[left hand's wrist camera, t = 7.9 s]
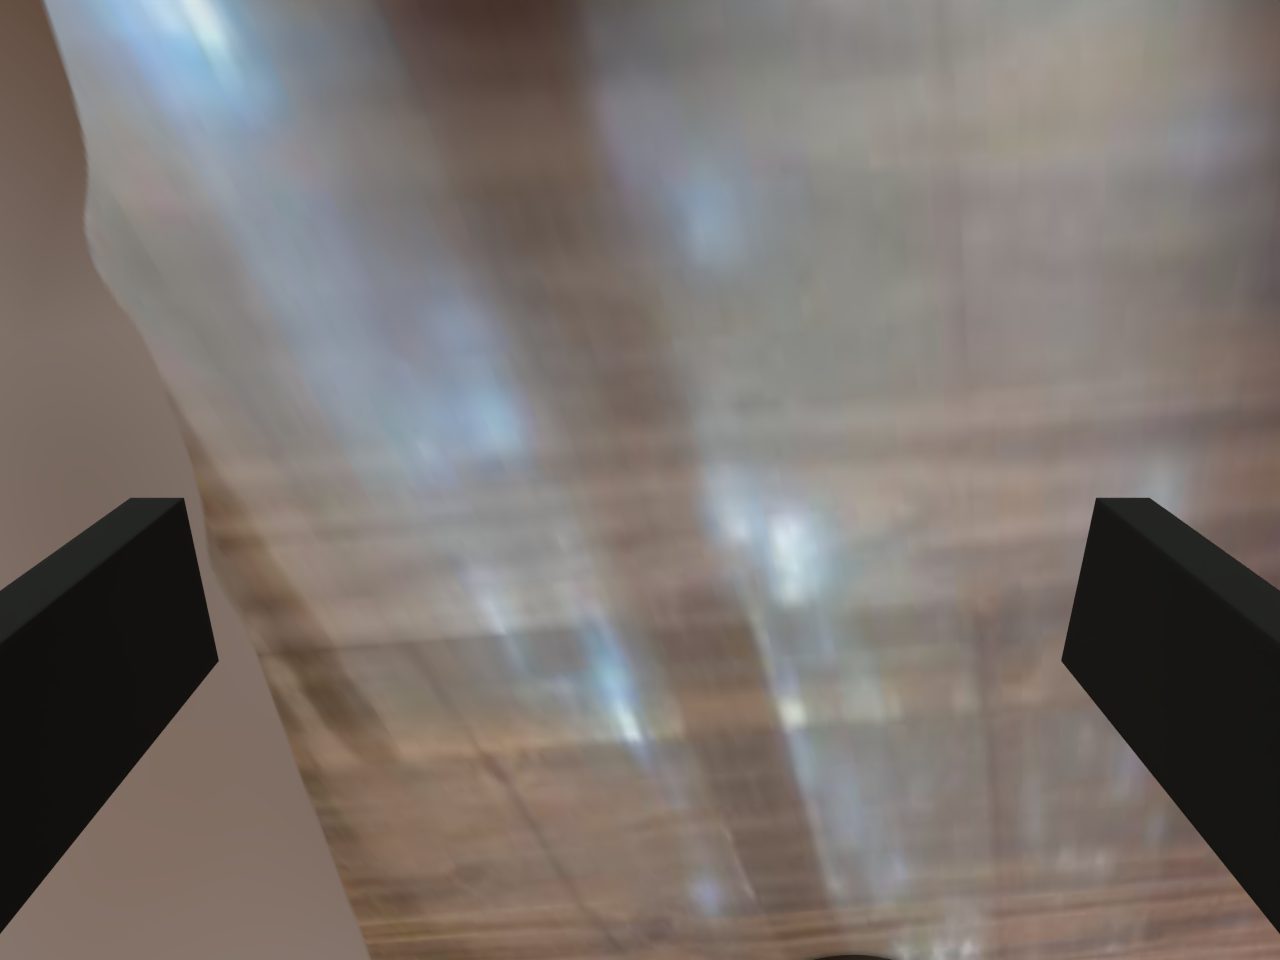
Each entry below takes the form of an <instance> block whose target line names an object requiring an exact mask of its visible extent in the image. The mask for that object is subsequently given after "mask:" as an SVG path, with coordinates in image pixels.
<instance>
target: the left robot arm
mask: <svg viewBox="0 0 1280 960" xmlns="http://www.w3.org/2000/svg"><path fill="white" fill-rule="evenodd" d="M218 661H219V660H218V655H217V651H216V646H215V641H214V636H213V632H212V627H211V622H210V618H209V613H208V609H207V604H206V599H205V594H204V590H203V585H202V580H201V576H200V571H199V566H198V562H197V557H196V553H195V548H194V543H193V538H192V534H191V529H190V524H189V520H188V515H187V511H186V506H185V501H184V498H130V499H128V500H127V501H126V502H124V503H123V504H121V505H120V506H119V507H117V508H116V509H114V510H113V511H112V512H110V513H109V514H107V515H106V516H105V517H103V518H102V519H100V520H99V521H98V522H96V523H95V524H93V525H92V526H90V527H89V528H88V529H86V530H85V531H83V532H82V533H81V534H79V535H78V536H77V537H75V538H74V539H72V540H71V541H70V542H68V543H67V544H65V545H64V546H62V547H61V548H60V549H58V550H57V551H55V552H54V553H53V554H51V555H50V556H48V557H47V558H46V559H44V560H43V561H41V562H40V563H39V564H37V565H36V566H34V567H33V568H32V569H30V570H29V571H27V572H26V573H25V574H23V575H22V576H20V577H19V578H18V579H16V580H15V581H13V582H12V583H11V584H9V585H8V586H6V587H5V588H4V589H2V590H1V591H0V933H1V932H2V931H3V930H4V928H5V927H6V926H7V925H8V923H9V922H10V921H11V920H12V918H13V917H14V916H15V915H16V913H17V912H18V911H19V910H20V908H21V907H22V906H23V905H24V903H25V902H26V901H27V900H28V898H29V897H30V896H31V895H32V893H33V892H34V891H35V890H36V888H37V887H38V886H39V885H40V883H41V882H42V881H43V880H44V878H45V877H46V876H47V875H48V873H49V872H50V871H51V870H52V868H53V867H54V866H55V865H56V863H57V862H58V861H59V860H60V858H61V857H62V856H63V855H64V853H65V852H66V851H67V850H68V848H69V847H70V846H71V845H72V843H73V842H74V841H75V840H76V838H77V837H78V836H79V835H80V833H81V832H82V831H83V830H84V828H85V827H86V826H87V825H88V823H89V822H90V821H91V820H92V818H93V817H94V816H95V815H96V813H97V812H98V811H99V810H100V808H101V807H102V806H103V805H104V803H105V802H106V801H107V800H108V798H109V797H110V796H111V795H112V793H113V792H114V791H115V790H116V788H117V787H118V786H119V785H120V783H121V782H122V781H123V780H124V778H125V777H126V776H127V775H128V773H129V772H130V771H131V770H132V768H133V767H134V766H135V765H136V763H137V762H138V761H139V760H140V758H141V757H142V756H143V755H144V753H145V752H146V751H147V750H148V749H149V747H150V746H151V745H152V743H153V742H154V741H155V740H156V739H157V737H158V736H159V735H160V734H161V732H162V731H163V730H164V729H165V727H166V726H167V725H168V724H169V722H170V721H171V720H172V719H173V717H174V716H175V715H176V714H177V712H178V711H179V710H180V709H181V707H182V706H183V705H184V704H185V702H186V701H187V700H188V699H189V697H190V696H191V695H192V693H193V692H194V691H195V690H196V689H197V687H198V686H199V685H200V684H201V682H202V681H203V680H204V679H205V677H206V676H207V675H208V674H209V672H210V671H211V670H212V669H213V667H214V666H215V665H216V664H217V662H218ZM1061 661H1062V662H1063V664H1064V665H1065V666H1066V667H1067V669H1068V670H1069V671H1070V672H1071V674H1072V675H1073V676H1074V677H1075V679H1076V680H1077V681H1078V682H1079V684H1080V685H1081V686H1082V687H1083V689H1084V690H1085V691H1086V692H1087V694H1088V695H1089V696H1090V697H1091V699H1092V700H1093V701H1094V702H1095V704H1096V705H1097V706H1098V707H1099V709H1100V710H1101V711H1102V712H1103V714H1104V715H1105V716H1106V717H1107V719H1108V720H1109V721H1110V722H1111V724H1112V725H1113V726H1114V727H1115V729H1116V730H1117V731H1118V732H1119V734H1120V735H1121V736H1122V737H1123V739H1124V740H1125V741H1126V742H1127V744H1128V745H1129V746H1130V747H1131V749H1132V750H1133V751H1134V752H1135V754H1136V755H1137V756H1138V757H1139V759H1140V760H1141V761H1142V762H1143V764H1144V765H1145V766H1146V767H1147V768H1148V770H1149V771H1150V772H1151V773H1152V775H1153V776H1154V777H1155V778H1156V780H1157V781H1158V782H1159V783H1160V785H1161V786H1162V787H1163V788H1164V790H1165V791H1166V792H1167V793H1168V795H1169V796H1170V797H1171V798H1172V800H1173V801H1174V802H1175V803H1176V805H1177V806H1178V807H1179V808H1180V810H1181V811H1182V812H1183V813H1184V815H1185V816H1186V817H1187V818H1188V820H1189V821H1190V822H1191V823H1192V825H1193V826H1194V827H1195V828H1196V830H1197V831H1198V832H1199V833H1200V835H1201V836H1202V837H1203V838H1204V840H1205V841H1206V842H1207V843H1208V845H1209V846H1210V847H1211V848H1212V850H1213V851H1214V852H1215V853H1216V855H1217V856H1218V857H1219V858H1220V860H1221V861H1222V862H1223V863H1224V865H1225V866H1226V867H1227V868H1228V870H1229V871H1230V872H1231V873H1232V875H1233V876H1234V877H1235V878H1236V880H1237V881H1238V882H1239V883H1240V885H1241V886H1242V887H1243V888H1244V890H1245V891H1246V892H1247V893H1248V895H1249V896H1250V897H1251V898H1252V900H1253V901H1254V902H1255V903H1256V905H1257V906H1258V907H1259V908H1260V910H1261V911H1262V912H1263V913H1264V915H1265V916H1266V917H1267V918H1268V920H1269V921H1270V922H1271V923H1272V925H1273V926H1274V927H1275V928H1276V930H1277V931H1278V932H1279V933H1280V591H1279V590H1278V589H1276V588H1275V587H1274V586H1272V585H1271V584H1269V583H1268V582H1267V581H1265V580H1264V579H1262V578H1261V577H1260V576H1258V575H1257V574H1255V573H1254V572H1253V571H1251V570H1250V569H1248V568H1247V567H1246V566H1244V565H1243V564H1241V563H1240V562H1239V561H1237V560H1236V559H1234V558H1233V557H1232V556H1230V555H1229V554H1227V553H1226V552H1225V551H1223V550H1222V549H1220V548H1219V547H1218V546H1216V545H1215V544H1213V543H1212V542H1211V541H1209V540H1208V539H1206V538H1205V537H1204V536H1202V535H1201V534H1199V533H1198V532H1197V531H1195V530H1194V529H1192V528H1191V527H1190V526H1188V525H1187V524H1185V523H1184V522H1182V521H1181V520H1180V519H1178V518H1177V517H1175V516H1174V515H1173V514H1171V513H1170V512H1168V511H1167V510H1166V509H1164V508H1163V507H1161V506H1160V505H1159V504H1157V503H1156V502H1154V501H1153V500H1152V499H1150V498H1096V501H1095V506H1094V510H1093V515H1092V520H1091V524H1090V529H1089V534H1088V538H1087V543H1086V548H1085V552H1084V557H1083V562H1082V566H1081V571H1080V576H1079V580H1078V585H1077V590H1076V594H1075V599H1074V604H1073V608H1072V613H1071V618H1070V622H1069V627H1068V632H1067V636H1066V641H1065V646H1064V650H1063V655H1062V660H1061ZM815 960H890V959H886V958H880V957H874V956H863V955H842V956H832V957H825V958H819V959H815Z"/></svg>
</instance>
